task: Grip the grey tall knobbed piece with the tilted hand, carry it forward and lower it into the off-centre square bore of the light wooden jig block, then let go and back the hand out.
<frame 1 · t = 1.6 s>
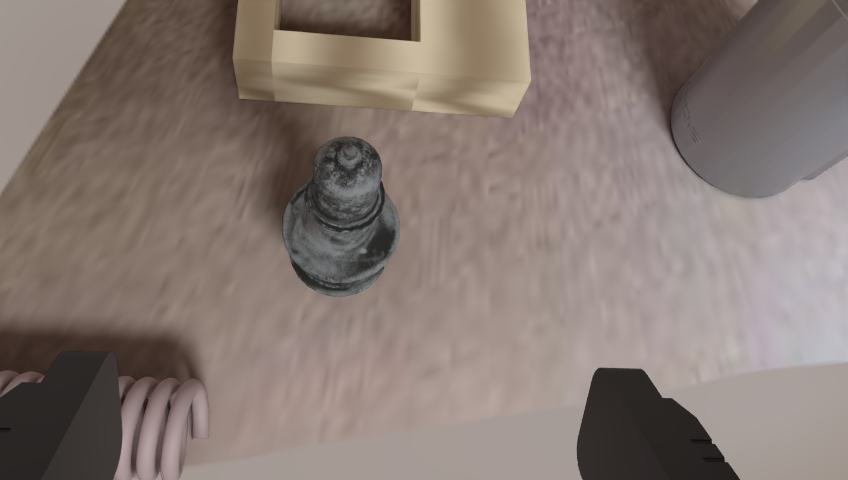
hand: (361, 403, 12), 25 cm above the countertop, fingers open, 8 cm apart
coil: (15, 429, 34), on the countertop
grey tall knobbed piece: (338, 251, 39), on the countertop
jig: (346, 21, 44), on the countertop
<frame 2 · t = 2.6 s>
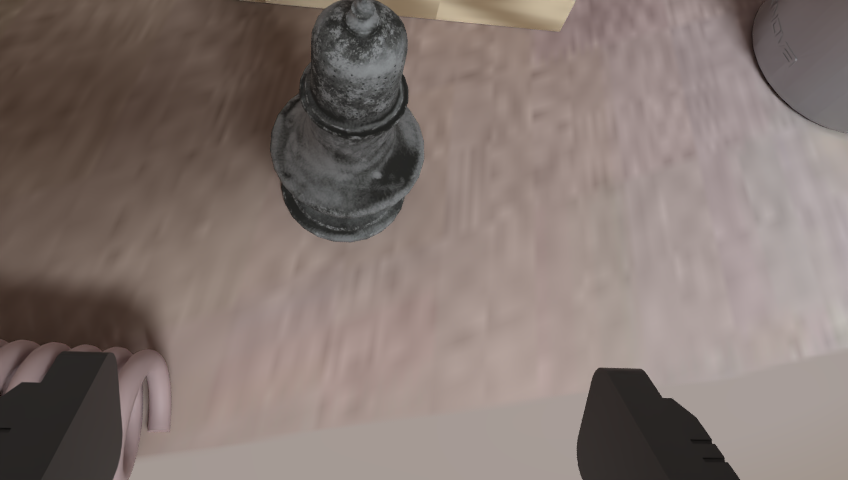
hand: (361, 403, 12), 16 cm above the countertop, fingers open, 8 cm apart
grey tall knobbed piece: (344, 186, 31), on the countertop
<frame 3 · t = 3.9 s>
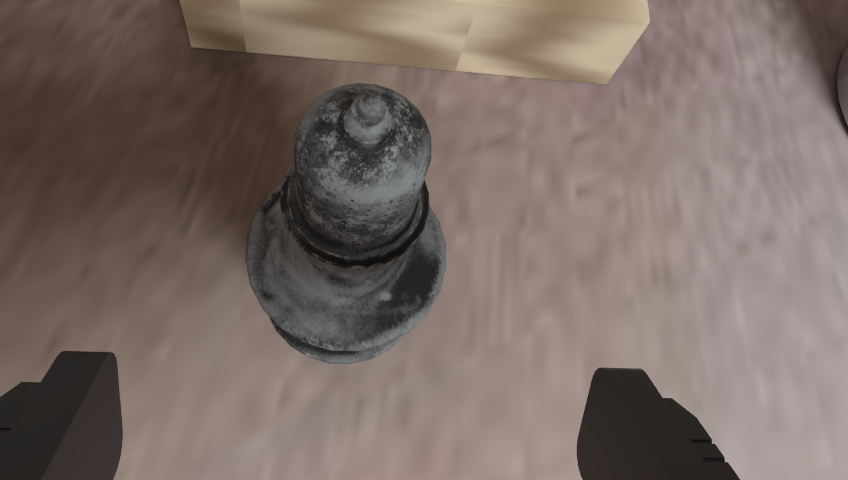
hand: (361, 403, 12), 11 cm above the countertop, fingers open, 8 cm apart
grey tall knobbed piece: (342, 288, 24), on the countertop
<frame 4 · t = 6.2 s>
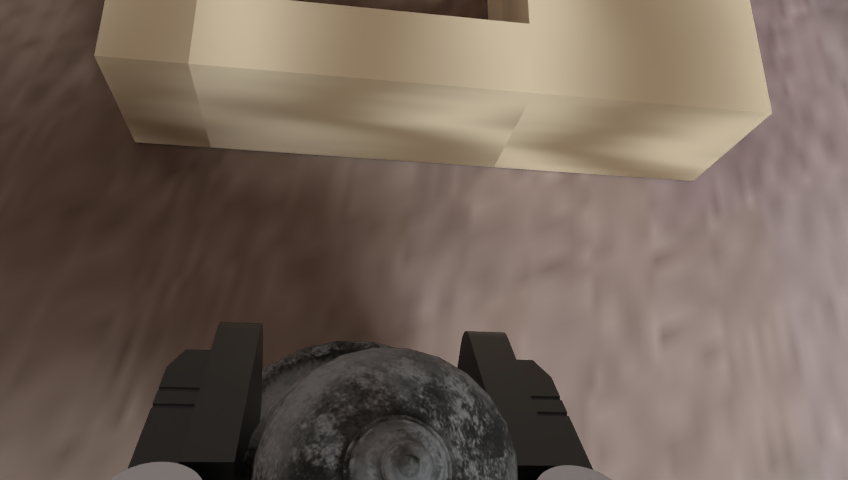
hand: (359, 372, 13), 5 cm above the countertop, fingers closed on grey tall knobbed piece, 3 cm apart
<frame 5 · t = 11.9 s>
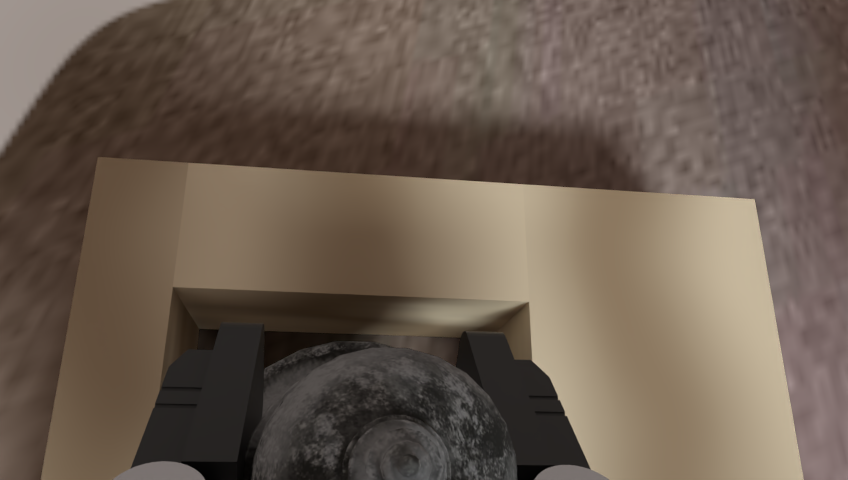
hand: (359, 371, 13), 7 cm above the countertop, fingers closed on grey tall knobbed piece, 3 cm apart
when the fingers open (7 cm above the countertop, at t = 12.1 s): grey tall knobbed piece drops 1 cm, resting in jig.
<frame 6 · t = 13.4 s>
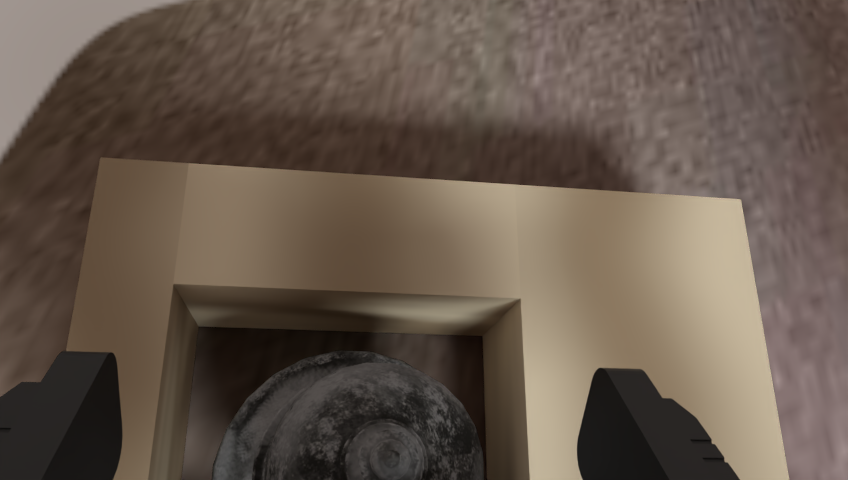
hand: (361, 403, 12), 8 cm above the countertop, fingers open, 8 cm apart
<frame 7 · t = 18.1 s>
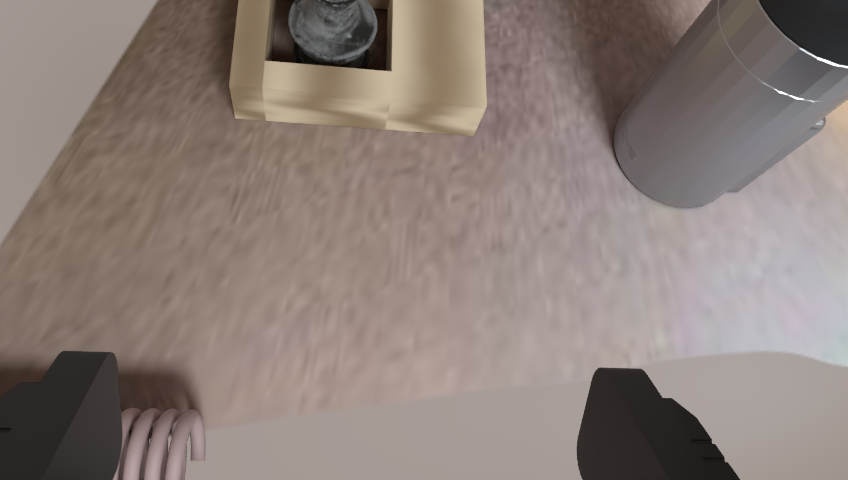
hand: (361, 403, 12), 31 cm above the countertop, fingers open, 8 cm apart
coil: (37, 454, 39), on the countertop
grey tall knobbed piece: (331, 55, 51), resting in jig
jig: (330, 50, 50), on the countertop
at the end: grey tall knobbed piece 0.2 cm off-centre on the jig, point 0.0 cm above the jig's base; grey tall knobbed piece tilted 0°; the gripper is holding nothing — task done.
